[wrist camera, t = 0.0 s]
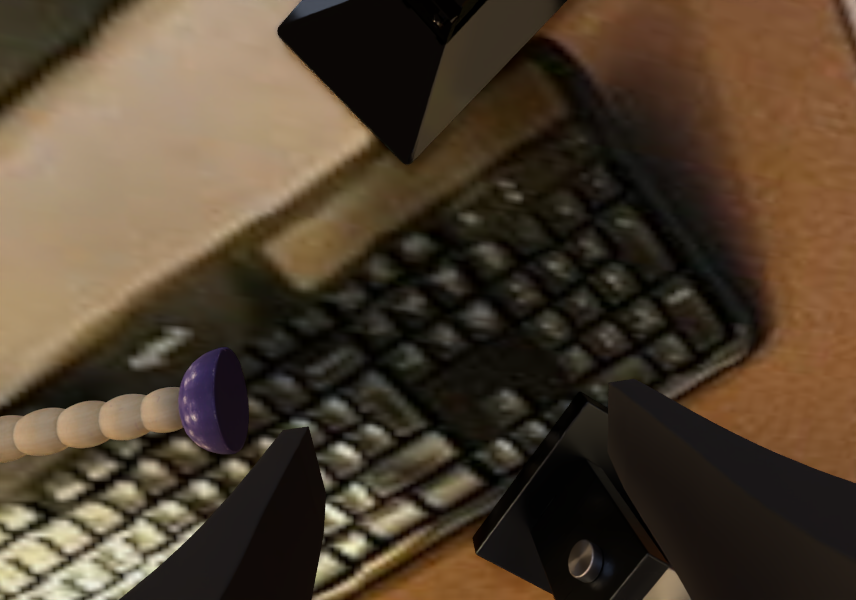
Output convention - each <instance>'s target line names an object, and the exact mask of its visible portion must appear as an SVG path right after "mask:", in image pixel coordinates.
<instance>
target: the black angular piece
mask: <svg viewBox="0 0 856 600" xmlns="http://www.w3.org/2000/svg"><path fill="white" fill-rule="evenodd" d="M566 1H567V0H302V1H301V2H300V3H299V4H298V5H297V6H296V8H295V9H294V10H293V11H292V12H291V13H290V14H289V16H288V17H287V18H286V19H285V20H284V21H283V22H282V24H281V25H280V26H279V27H278V35H279V37H280V38H281V39H282V40H283V41H284V42H285V43H286V44H287V45H288V46H289V47H290V48H291V49H292V50H293V51H294V52H295V53H296V54H297V55H298V56H299V57H300V58H301V59H302V60H303V61H304V63H305V64H306V65H307V66H308V67H309V68H310V69H311V70H312V71H313V72H314V73H315V74H316V75H317V76H318V77H319V78H320V79H321V80H322V81H323V82H324V83H325V84H326V85H327V86H328V87H329V88H330V89H331V90H332V91H333V92H334V93H335V94H336V95H337V96H338V97H339V98H340V99H341V100H342V101H343V102H344V103H345V104H346V105H347V106H348V107H349V108H350V109H351V110H352V111H353V112H354V114H355V115H356V116H357V117H358V118H359V119H360V120H361V121H362V122H363V123H364V124H365V125H366V126H367V127H368V128H369V129H370V130H371V131H372V132H373V133H374V134H375V135H376V136H377V137H378V138H379V139H380V140H381V141H382V142H383V143H384V144H385V145H386V146H387V147H388V148H389V149H390V150H391V151H392V152H393V153H394V154H395V155H396V156H397V157H398V158H399V159H400V160H401V161H402V162H403V163H404V164H407V165H408V164H411V163H412V162H413V161H414V160H415V159H416V158H417V157H418V156H419V155H420V154H421V153H422V152H423V151H424V149H425V148H426V147H427V146H428V145H429V144H430V143H431V142H432V141H433V140H434V139H435V138H436V137H437V136H438V135H439V134H440V133H441V132H442V131H443V130H444V129H445V128H446V126H447V125H448V124H449V123H450V122H451V121H452V120H453V119H454V118H455V117H456V116H457V115H458V114H459V113H460V112H461V111H462V110H463V109H464V108H465V107H466V106H467V105H468V104H469V102H470V101H471V100H472V99H473V98H474V97H475V96H476V95H477V94H478V93H479V92H480V91H481V90H482V89H483V88H484V87H485V86H486V85H487V84H488V83H489V82H490V81H491V79H492V78H493V77H494V76H495V75H496V74H497V73H498V72H499V71H500V70H501V69H502V68H503V67H504V66H505V65H506V64H507V63H508V62H509V61H510V60H511V59H512V58H513V57H514V55H515V54H516V53H517V52H518V51H519V50H520V49H521V48H522V47H523V46H524V45H525V44H526V43H527V42H528V41H529V40H530V39H531V38H532V37H533V36H534V35H535V34H536V32H537V31H538V30H539V29H540V28H541V27H542V26H543V25H544V24H545V23H546V22H547V21H548V20H549V19H550V18H551V17H552V16H553V15H554V14H555V13H556V12H557V11H558V9H559V8H560V7H561V6H562V5H563V4H564V3H565V2H566Z"/></svg>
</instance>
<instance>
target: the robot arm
mask: <svg viewBox="0 0 856 600" xmlns="http://www.w3.org/2000/svg"><path fill="white" fill-rule="evenodd" d="M607 452H608V454H609V456H610V459H611V461H612V463H613V465H614V468H615V470H616V472H617V474H618V477H619V479H620V481H621V483H622V485H623V487H624V489H625V491H626V493H627V494H628V496H629V498H630V499H631V501H632V503H633V504H634V506H635V508H636V509H637V511H638V512H639V514H640V516H641V517H642V519H643V521H644V522H645V524H646V525H647V527H648V529H649V530H650V532H651V533H652V535H653V537H654V538H655V540H656V541H657V543H658V545H659V546H660V548H661V549H662V551H663V553H664V554H665V556H666V558H667V559H668V561H669V562H670V564H671V566H672V567H673V569H674V570H675V572H676V574H677V575H678V577H679V579H680V580H681V582H682V584H683V586H684V588H685V589H686V591H687V593H688V595H689V596H690V598H691V600H856V483H853V482H851V481H848V480H845V479H842V478H839V477H836V476H833V475H830V474H828V473H825V472H822V471H819V470H817V469H814V468H812V467H809V466H807V465H804V464H802V463H799V462H797V461H794V460H792V459H790V458H787V457H785V456H782V455H780V454H777V453H775V452H773V451H771V450H768V449H766V448H764V447H762V446H759V445H757V444H755V443H753V442H751V441H749V440H747V439H745V438H743V437H741V436H739V435H737V434H735V433H733V432H731V431H729V430H727V429H725V428H723V427H721V426H719V425H717V424H715V423H713V422H711V421H709V420H708V419H706V418H704V417H702V416H700V415H698V414H696V413H695V412H693V411H691V410H689V409H687V408H686V407H684V406H682V405H680V404H679V403H677V402H675V401H673V400H671V399H670V398H668V397H666V396H664V395H663V394H661V393H659V392H657V391H656V390H654V389H652V388H650V387H648V386H647V385H645V384H643V383H641V382H639V381H637V380H635V379H631V380H624V381H617V382H610V383H609V394H608V450H607ZM325 502H326V492H325V488H324V484H323V480H322V476H321V473H320V469H319V465H318V461H317V457H316V453H315V449H314V446H313V442H312V438H311V434H310V430H309V427H302V428H295V429H288V430H283V431H282V432H281V433H280V434H279V436H278V437H277V438H276V439H275V441H274V442H273V443H272V444H271V446H270V447H269V448H268V449H267V451H266V452H265V453H264V454H263V456H262V457H261V458H260V459H259V461H258V462H257V463H256V464H255V466H254V467H253V468H252V469H251V471H250V472H249V473H248V474H247V475H246V477H245V478H244V479H243V480H242V481H241V483H240V484H239V485H238V486H237V487H236V489H235V490H234V491H233V492H232V493H231V494H230V496H229V497H228V498H227V499H226V500H225V501H224V502H223V503H222V504H221V505H220V507H219V508H218V509H217V510H216V511H215V512H214V513H213V514H212V515H211V516H210V518H209V519H208V520H207V521H206V522H205V523H204V524H203V525H202V526H201V527H200V528H199V529H198V530H197V531H196V532H195V533H194V534H193V535H192V536H191V537H190V538H189V539H188V540H187V541H186V542H185V543H184V544H183V545H182V546H181V547H180V548H179V549H178V550H177V551H175V552H174V553H173V554H172V555H171V556H170V557H169V558H168V559H167V560H166V561H165V562H164V563H162V564H161V565H160V566H159V567H158V568H157V569H156V570H154V571H153V572H152V573H151V574H150V575H148V576H147V577H146V578H145V579H144V580H142V581H141V582H140V583H139V584H137V585H136V586H135V587H134V588H133V589H131V590H130V591H129V592H128V593H127V594H125V595H124V596H123V597H122V598H121V599H119V600H311V599H312V594H313V588H314V583H315V578H316V573H317V567H318V562H319V557H320V551H321V546H322V540H323V533H324V520H325Z"/></svg>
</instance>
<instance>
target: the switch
mask: <svg viewBox="0 0 856 600" xmlns="http://www.w3.org/2000/svg"><path fill="white" fill-rule="evenodd" d="M668 564H669V568H668V569H667V571H666V572H665V573H664V574H663V576H662V577H661V578H660V579H659V580H658V582H657V583H656V584H655V585H654V586H653V588H652V589H651V590H650V591H649V593H648V594H647V595H646V596H645V597H644V599H643V600H691V598H690V596H689V595H688V593H687V591H686V589H685V588H684V586H683V584H682V582H681V580H680V579H679V577H678V575H677V574H676V572H675V570H674V569H673V567H672V566H671V564H670V563H669V562H668Z"/></svg>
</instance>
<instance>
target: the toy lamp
mask: <svg viewBox="0 0 856 600" xmlns="http://www.w3.org/2000/svg"><path fill="white" fill-rule="evenodd" d="M248 423H249V405H248V397H247V389H246V384H245V379H244V375H243V372H242V368H241V365H240V362H239V361H238V359H237V357H236V355H235V354H234V352H233V351H232V350H230V349H229V348H227V347H222V348H218V349H215V350H212V351H210V352H207V353H205V354H204V355H202V356H201V357H199V358H198V359H197V360H196V361H195V362H193V363H192V365H191V366H190V367H189V368H188V370H187V371H186V373H185V375H184V377H183V379H182V382H181V386H180V388H179V387H166V388H162V389H158V390H155V391H153V392H151V393H150V394H148V395H147V396H146V395H142V394H126V395H122V396H118V397H116V398H113V399H111V400H109V401H108V402H106V403H105V402H102V401H85V402H81V403H78V404H75V405H73V406H70V407H69V408H67V409H62V408H45V409H40V410H37V411H33V412H31V413H29V414H27V415H25V416H24V417H23V416H18V415H7V416H1V417H0V463H4V462H9V461H14V460H16V459H19V458H21V457H23V456H25V455H27V454H29V455H35V456H42V455H50V454H54V453H57V452H60V451H62V450H64V449H66V448H67V447H69V446H70V447H74V448H88V447H94V446H97V445H99V444H102V443H104V442H106V441H107V440H109V439H114V440H130V439H134V438H138V437H140V436H143V435H145V434H147V433H148V432H150V431H153V432H159V433H166V432H173V431H176V430H179V429H181V428H183V427H184V429H185V431H186V433H187V434H188V436H189V437H190V438H191V440H192V441H193V442H195V443H196V444H197V445H198V446H200V447H201V448H203V449H205V450H208V451H210V452H214V453H219V454H236V453H237V452H238V451H240V450H241V448H242V447H243V445H244V443H245V440H246V437H247V432H248Z"/></svg>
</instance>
